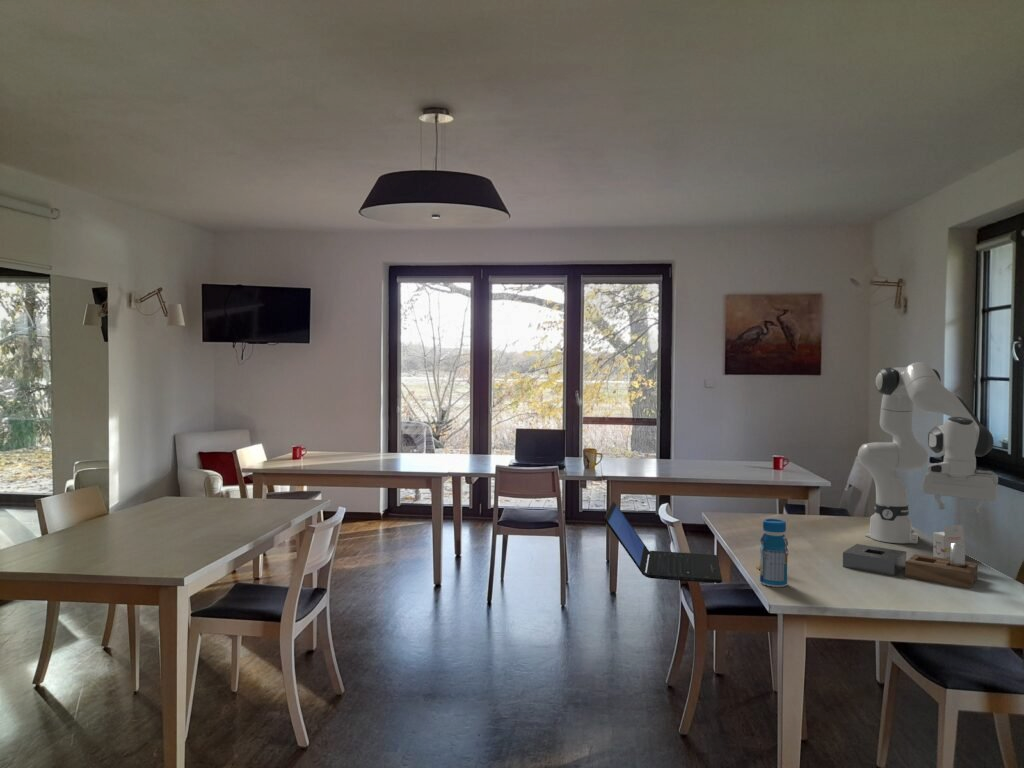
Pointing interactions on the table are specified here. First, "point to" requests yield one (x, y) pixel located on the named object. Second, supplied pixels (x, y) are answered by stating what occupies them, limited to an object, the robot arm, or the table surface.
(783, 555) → the beverage bottle
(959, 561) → the metal vial
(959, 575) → the walnut rack
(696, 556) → the laptop
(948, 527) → the ink cartridge box
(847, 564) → the socket block
